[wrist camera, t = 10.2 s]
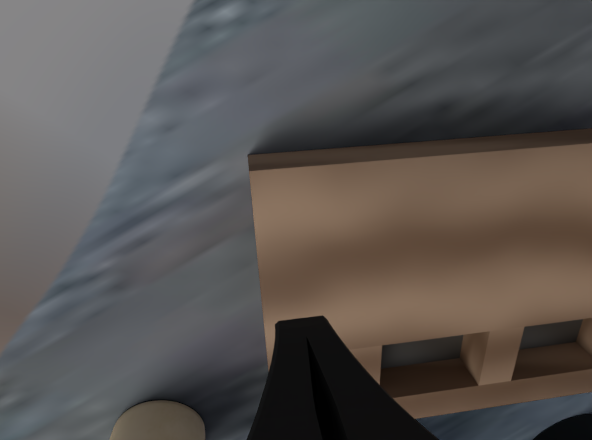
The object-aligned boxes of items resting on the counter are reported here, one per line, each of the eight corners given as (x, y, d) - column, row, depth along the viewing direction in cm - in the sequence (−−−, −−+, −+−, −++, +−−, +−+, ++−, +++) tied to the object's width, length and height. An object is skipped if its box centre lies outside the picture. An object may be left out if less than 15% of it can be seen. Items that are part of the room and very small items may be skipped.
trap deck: (669, 346, 28) (708, 374, 25) (271, 403, 25) (275, 440, 22) (776, 114, 21) (841, 122, 19) (247, 155, 18) (249, 171, 16)
